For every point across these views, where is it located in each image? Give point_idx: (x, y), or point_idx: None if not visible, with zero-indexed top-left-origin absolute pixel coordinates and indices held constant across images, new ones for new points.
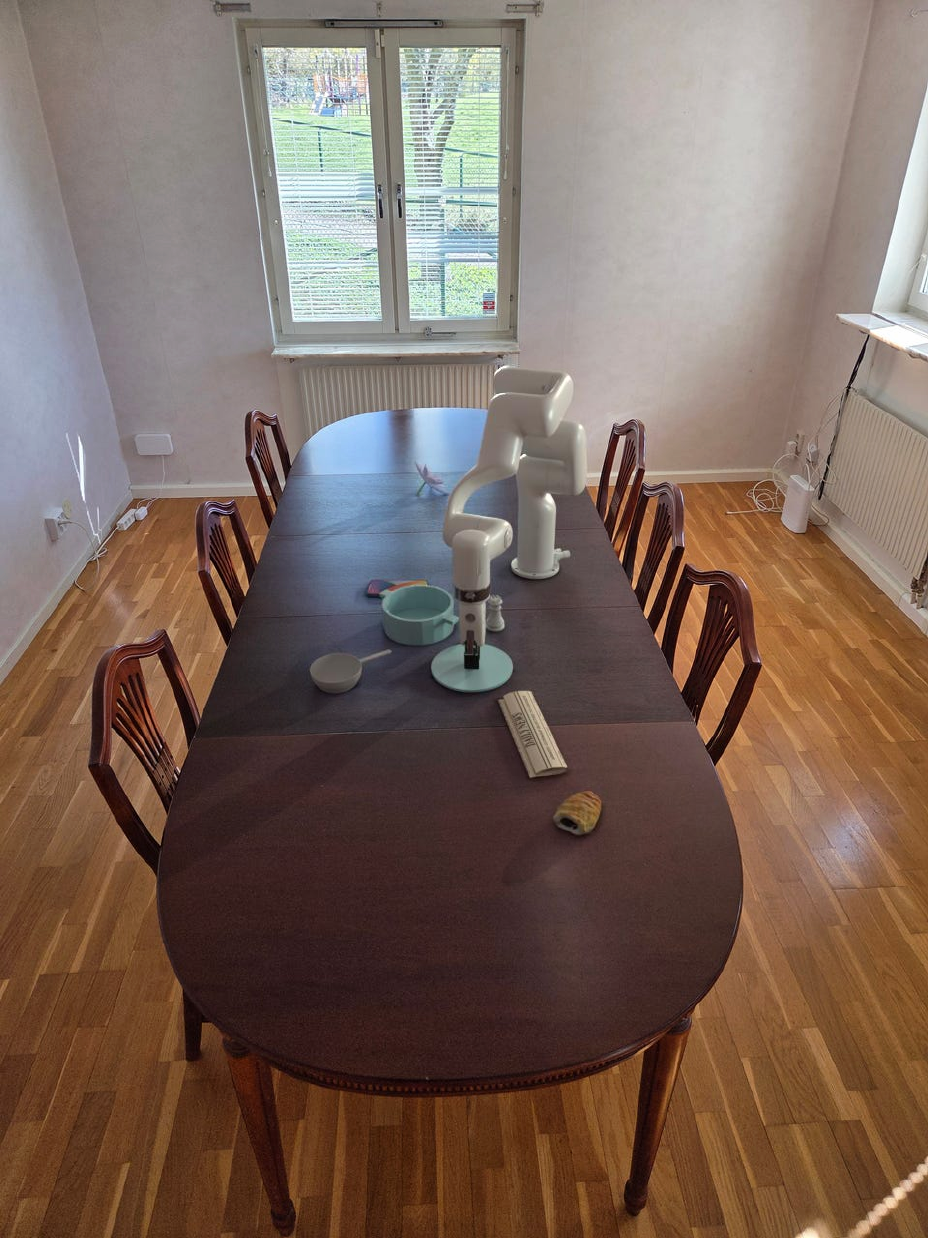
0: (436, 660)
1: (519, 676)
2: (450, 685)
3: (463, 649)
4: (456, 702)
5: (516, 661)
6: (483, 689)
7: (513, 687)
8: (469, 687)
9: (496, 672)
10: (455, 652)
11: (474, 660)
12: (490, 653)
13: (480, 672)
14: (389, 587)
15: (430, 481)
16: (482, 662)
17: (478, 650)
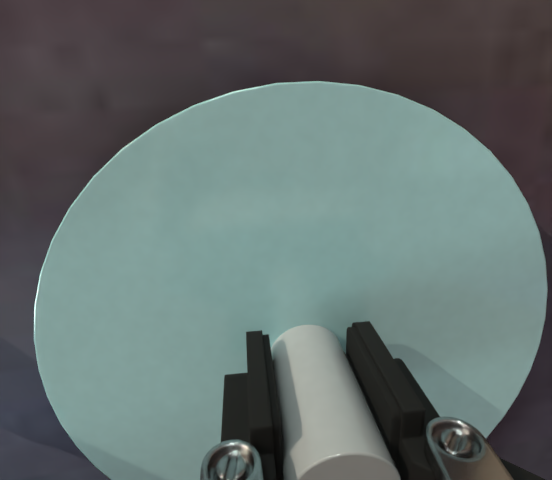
0: None
1: (334, 31)
2: (488, 424)
3: (134, 425)
4: (549, 359)
5: (147, 62)
6: (543, 262)
7: (457, 72)
8: (518, 338)
9: (377, 201)
10: (177, 457)
11: (424, 399)
12: (146, 265)
13: (375, 300)
14: None
15: None
16: (265, 303)
17: (276, 393)
